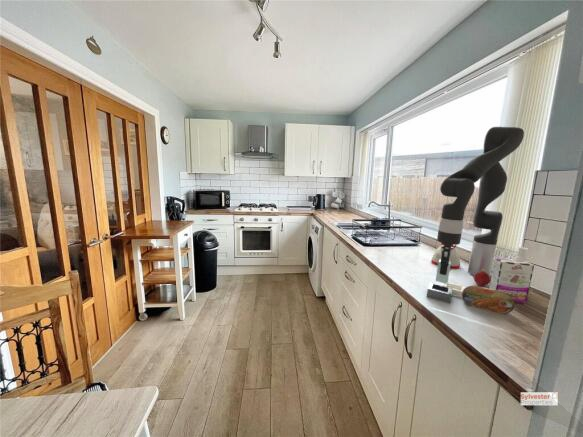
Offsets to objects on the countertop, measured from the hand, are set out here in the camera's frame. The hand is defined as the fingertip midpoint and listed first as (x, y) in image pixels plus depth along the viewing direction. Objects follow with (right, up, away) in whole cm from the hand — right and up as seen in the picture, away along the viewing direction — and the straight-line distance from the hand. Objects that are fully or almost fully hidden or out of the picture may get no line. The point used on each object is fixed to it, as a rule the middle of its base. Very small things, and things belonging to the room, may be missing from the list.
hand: (443, 272), depth 94 cm
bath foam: (+38, -11, +11) cm, 41 cm away
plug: (0, -3, +1) cm, 4 cm away
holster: (+8, -10, +6) cm, 15 cm away
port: (0, -11, +2) cm, 11 cm away
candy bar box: (+28, -12, +3) cm, 31 cm away
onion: (+26, -10, +14) cm, 31 cm away
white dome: (+28, -5, +42) cm, 51 cm away
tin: (+12, -13, -6) cm, 18 cm away
